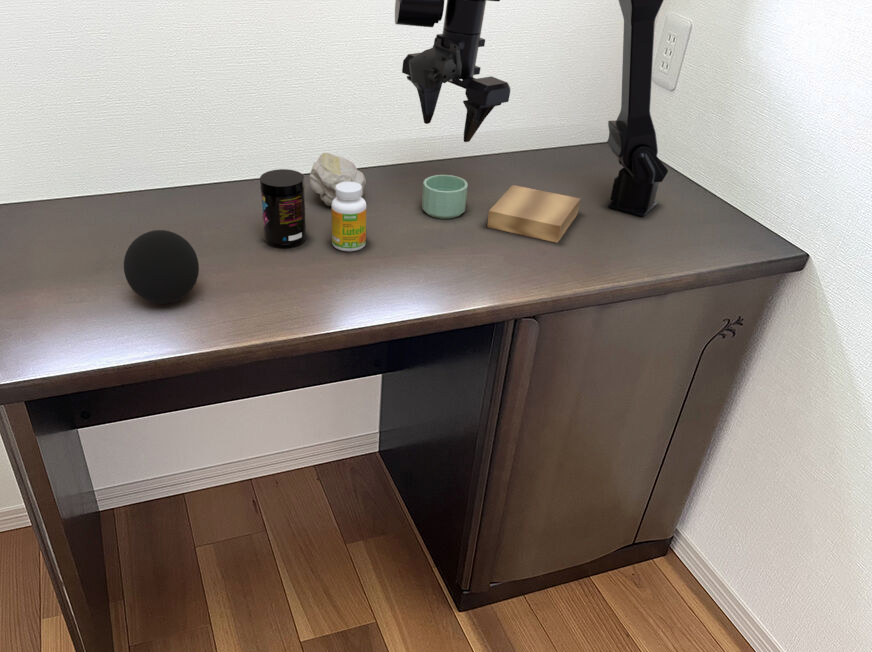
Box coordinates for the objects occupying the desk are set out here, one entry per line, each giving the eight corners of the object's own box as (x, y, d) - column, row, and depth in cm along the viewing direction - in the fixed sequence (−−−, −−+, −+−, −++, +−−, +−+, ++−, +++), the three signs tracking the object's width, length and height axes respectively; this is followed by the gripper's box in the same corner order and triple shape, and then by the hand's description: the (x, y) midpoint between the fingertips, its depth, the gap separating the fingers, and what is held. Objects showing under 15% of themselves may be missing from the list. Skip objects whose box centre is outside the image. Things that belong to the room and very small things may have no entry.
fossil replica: (350, 184, 146) (300, 198, 143) (344, 139, 141) (293, 152, 138) (380, 204, 137) (328, 219, 134) (376, 157, 132) (321, 171, 129)
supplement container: (288, 226, 131) (285, 165, 125) (315, 240, 127) (313, 178, 121) (255, 238, 128) (250, 176, 121) (281, 253, 124) (277, 190, 117)
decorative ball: (216, 299, 113) (209, 234, 107) (155, 325, 107) (143, 259, 101) (176, 273, 118) (167, 211, 112) (116, 297, 113) (103, 233, 106)
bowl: (473, 209, 138) (475, 181, 135) (450, 224, 133) (452, 195, 130) (437, 198, 141) (439, 171, 138) (413, 212, 136) (415, 184, 133)
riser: (577, 214, 136) (580, 198, 134) (557, 243, 128) (560, 226, 126) (510, 200, 141) (512, 184, 139) (486, 227, 132) (488, 210, 130)
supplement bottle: (341, 255, 124) (340, 196, 118) (326, 240, 127) (325, 183, 121) (371, 248, 126) (372, 189, 120) (356, 234, 129) (356, 177, 124)
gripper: (381, 18, 121) (371, 121, 130) (468, 51, 110) (451, 160, 119) (434, 13, 127) (421, 112, 136) (522, 44, 116) (501, 148, 125)
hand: (446, 132), depth 129 cm, fingers open, 9 cm apart
